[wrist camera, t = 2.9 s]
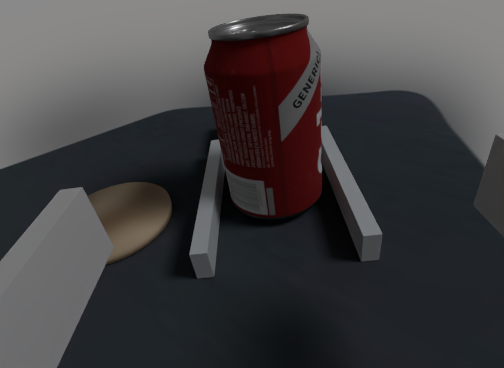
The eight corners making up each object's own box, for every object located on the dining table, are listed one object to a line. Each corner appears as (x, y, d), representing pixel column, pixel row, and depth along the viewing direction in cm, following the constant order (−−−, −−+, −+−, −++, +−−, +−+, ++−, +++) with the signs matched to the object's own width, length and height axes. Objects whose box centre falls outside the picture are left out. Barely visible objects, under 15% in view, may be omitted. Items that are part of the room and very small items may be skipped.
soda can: (265, 242, 20) (236, 43, 14) (217, 195, 25) (177, 32, 19) (341, 198, 23) (348, 13, 16) (284, 164, 28) (271, 10, 21)
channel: (378, 259, 18) (382, 233, 17) (197, 278, 19) (189, 254, 18) (326, 145, 30) (326, 125, 28) (215, 159, 30) (211, 140, 29)
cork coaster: (22, 251, 23) (18, 245, 22) (113, 181, 29) (110, 176, 29) (115, 284, 19) (111, 277, 19) (194, 196, 26) (192, 190, 25)
